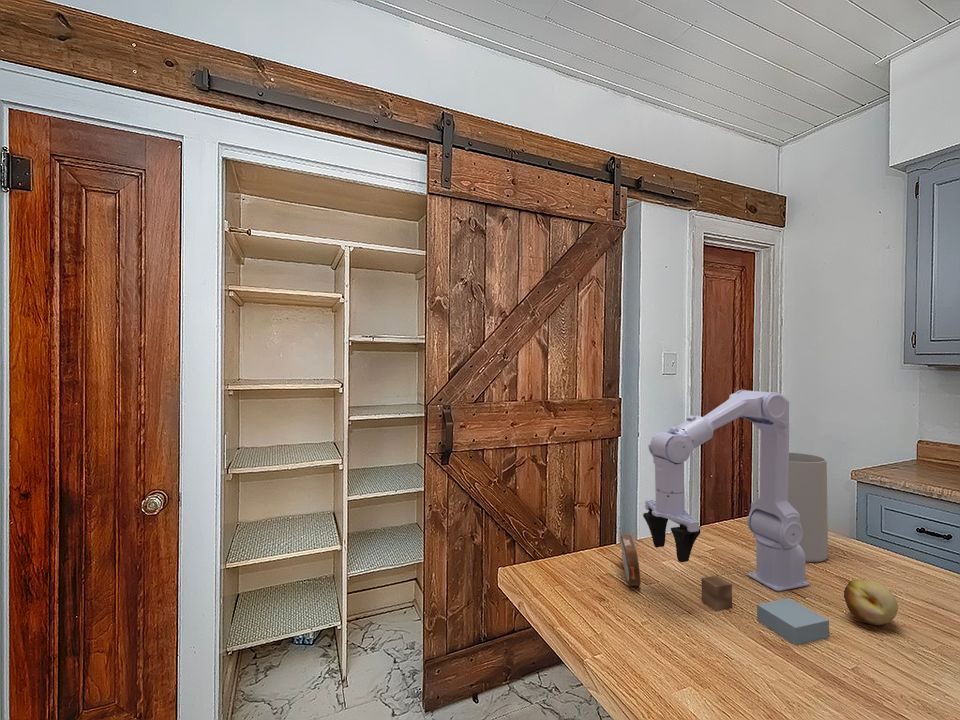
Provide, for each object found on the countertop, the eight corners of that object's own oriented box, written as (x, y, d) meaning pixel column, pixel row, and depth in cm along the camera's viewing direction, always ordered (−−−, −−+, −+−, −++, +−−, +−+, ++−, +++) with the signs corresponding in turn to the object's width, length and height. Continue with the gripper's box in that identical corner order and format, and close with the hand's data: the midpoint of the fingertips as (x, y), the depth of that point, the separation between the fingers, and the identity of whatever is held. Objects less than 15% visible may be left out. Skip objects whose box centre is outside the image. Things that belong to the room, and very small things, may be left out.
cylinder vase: (777, 539, 128) (776, 450, 127) (832, 552, 118) (831, 457, 118) (763, 552, 119) (761, 457, 119) (822, 568, 110) (820, 465, 110)
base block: (789, 615, 91) (788, 598, 91) (829, 639, 83) (829, 620, 83) (757, 622, 89) (756, 604, 89) (795, 647, 81) (795, 627, 81)
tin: (641, 593, 100) (641, 555, 100) (626, 592, 100) (626, 554, 100) (632, 563, 115) (632, 529, 114) (619, 562, 115) (619, 529, 115)
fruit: (835, 617, 89) (835, 577, 89) (860, 608, 93) (860, 568, 93) (882, 639, 82) (881, 595, 82) (907, 628, 86) (906, 585, 86)
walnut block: (717, 598, 97) (716, 575, 97) (732, 608, 93) (731, 584, 93) (701, 601, 96) (701, 578, 96) (716, 611, 92) (716, 587, 92)
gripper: (633, 482, 102) (634, 542, 102) (677, 501, 88) (678, 571, 88) (660, 479, 104) (661, 538, 104) (707, 498, 90) (708, 566, 90)
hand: (670, 553), depth 96 cm, fingers open, 7 cm apart
